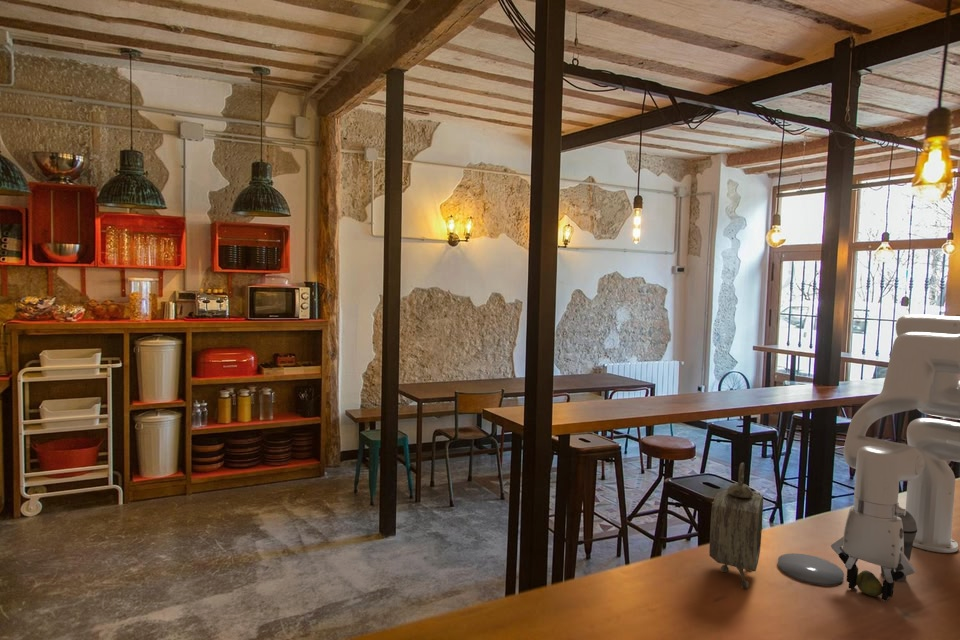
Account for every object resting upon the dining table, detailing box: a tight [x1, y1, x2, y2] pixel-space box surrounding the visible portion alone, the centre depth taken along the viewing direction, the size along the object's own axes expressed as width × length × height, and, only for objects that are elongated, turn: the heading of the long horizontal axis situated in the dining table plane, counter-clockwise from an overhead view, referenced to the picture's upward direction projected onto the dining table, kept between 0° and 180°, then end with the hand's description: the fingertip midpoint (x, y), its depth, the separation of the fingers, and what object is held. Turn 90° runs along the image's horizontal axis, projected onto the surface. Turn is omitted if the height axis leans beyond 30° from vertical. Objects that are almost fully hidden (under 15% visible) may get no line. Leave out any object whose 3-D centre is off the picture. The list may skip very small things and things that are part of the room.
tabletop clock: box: [708, 462, 764, 589], centre depth 131 cm, size 14×9×25 cm, turn 150°
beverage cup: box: [880, 511, 917, 583], centre depth 132 cm, size 7×7×20 cm
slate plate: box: [777, 553, 845, 586], centre depth 135 cm, size 13×13×1 cm
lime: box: [856, 569, 883, 597], centre depth 125 cm, size 4×5×5 cm
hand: (869, 591), depth 125 cm, fingers open, 5 cm apart
